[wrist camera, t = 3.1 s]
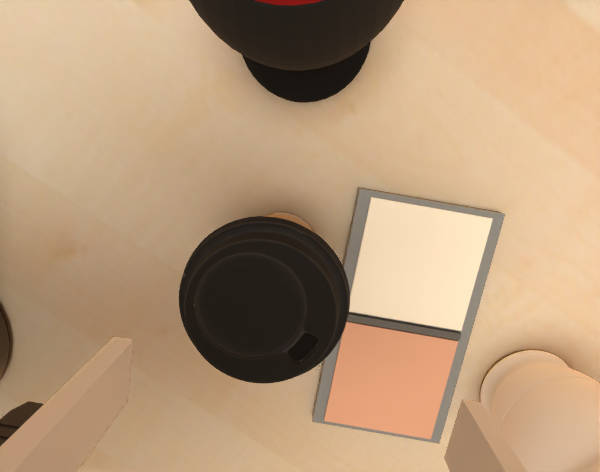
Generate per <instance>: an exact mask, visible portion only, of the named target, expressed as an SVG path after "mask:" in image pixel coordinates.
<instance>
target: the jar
mask: <svg viewBox="0 0 600 472" xmlns="http://www.w3.org/2000/svg"><path fill="white" fill-rule="evenodd" d="M480 397H481V403H482V404H483V406H484V407H485V409H486V410H487V412H488V413H489V415H490V416H491V418H492V419H493V421H494V422H495V424H496V425H497V427H498V428H499V430H500V432H501V433H502V435H503V436H504V438H505V439H506V441H507V442H508V444H509V445H510V447H511V448H512V450H513V451H514V453H515V454H516V456H517V457H518V459H519V460H520V462H521V463H522V465H523V466H524V468H525V469H526V471H527V472H600V383H599V382H597V381H596V380H594V379H592V378H591V377H589V376H587V375H585V374H583V373H581V372H578V371H576V370H573V369H570V368H569V367H568V365H567V364H566V363H565V362H564V361H563V360H561V359H560V358H559V357H557V356H555V355H553V354H551V353H548V352H545V351H539V350H526V351H520V352H517V353H514V354H511V355H509V356H507V357H505V358H503V359H502V360H500V361H499V362H498V363H497V364H495V365H494V366H493V367H492V369H491V370H490V371H489V372H488V374H487V375H486V377H485V379H484V381H483V384H482V387H481V395H480Z"/></svg>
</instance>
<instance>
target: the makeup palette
mask: <svg viewBox="0 0 600 472" xmlns="http://www.w3.org/2000/svg"><path fill="white" fill-rule="evenodd" d="M504 216H505V214H503V213H500V212H495V211H490V210H484V209H478V208H473V207H467V206H461V205H456V204H450V203H444V202H439V201H433V200H427V199H421V198H416V197H410V196H404V195H399V194H393V193H387V192H382V191H376V190H370V189H365V188H359V189H358V194H357V199H356V203H355V208H354V213H353V218H352V223H351V228H350V233H349V238H348V243H347V248H346V253H345V258H344V262H343V268H344V270H345V273H346V276H347V279H348V284H349V290H350V308H349V315H348V318H347V322H346V326H345V329H344V331H343V334H342V336H341V338H340V340H339V342H338V343H337V345H336V346H335V348H334V349H333V351H332V352H331V353H330V354H329V355H328V356H327V357H326V358H325V359H324V361H323V366H322V371H321V375H320V380H319V385H318V390H317V395H316V400H315V405H314V410H313V419H312V422H317V423H323V424H329V425H335V426H341V427H346V428H352V429H358V430H364V431H369V432H375V433H381V434H387V435H393V436H398V437H404V438H410V439H416V440H421V441H427V442H433V443H439V442H440V439H441V435H442V432H443V428H444V425H445V421H446V418H447V415H448V411H449V408H450V404H451V401H452V397H453V394H454V390H455V387H456V383H457V380H458V376H459V373H460V369H461V366H462V362H463V359H464V355H465V352H466V348H467V345H468V342H469V338H470V335H471V331H472V328H473V324H474V321H475V317H476V314H477V310H478V307H479V303H480V300H481V296H482V293H483V289H484V286H485V282H486V279H487V275H488V272H489V269H490V265H491V262H492V258H493V255H494V251H495V248H496V244H497V241H498V237H499V234H500V230H501V227H502V223H503V220H504Z"/></svg>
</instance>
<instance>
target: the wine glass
mask: <svg viewBox="0 0 600 472" xmlns="http://www.w3.org/2000/svg"><path fill="white" fill-rule="evenodd" d="M189 1H190V2H191V4H192V5H193V7H194V8H195V10H196V11H197V13H198V14H199V16H200V17H201V18H202V19H203V20H204V22H205V23H206V24H207V25H208V26H209V27H210V28H211V30H212V31H213V32H214V33H215V34H216V35H217V36H218V37H219V38H220V39H222V40H223V41H224V42H225V43H226V44H228V45H229V46H230V47H231V48H233V49H234V50H236V51H238V52H239V53H241V54H242V55H243V58H244V60H245V62H246V64H247V67H248V68H249V70H250V71H251V73H252V74H253V76H254V77H255V78H256V79H257V81H258V82H259V83H260V84H261V85H262V86H263V87H265V88H266V89H267V90H268V91H270V92H271V93H273V94H275V95H276V96H278V97H281V98H284V99H286V100H290V101H294V102H314V101H319V100H322V99H326V98H328V97H330V96H332V95H335V94H336V93H338V92H339V91H341V90H342V89H344V88H345V87H346V86H347V85H348V84H349V83H350V82H351V81H352V80H353V79H354V78H355V76H356V75H357V74H358V72H359V71H360V69H361V67H362V65H363V64H364V62H365V59H366V57H367V54H368V51H369V47H370V43H371V40H373V39H374V38H375V37H376V36H377V35H378V34H379V33H380V32H381V31H382V30H383V29H384V28H385V27H386V25H387V24H388V23H389V21H390V20H391V19H392V17H393V16H394V15H395V13H396V12H397V11H398V9H399V8H400V6H401V4H402V3H403V1H404V0H189Z"/></svg>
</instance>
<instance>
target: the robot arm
mask: <svg viewBox="0 0 600 472" xmlns="http://www.w3.org/2000/svg"><path fill="white" fill-rule="evenodd" d="M133 342H134V340H132V339H127V338H121V337H116V336H114V337H113V338H112V339H111V340H110V341H109V342H108V343H107V344H106V345H105V346H104V347H103V348H102V349H101V350H100V351H99V352H97V353H96V354H95V355H94V356H93V357H92V358H91V359H90V360H89V361H88V362H87V363H86V364H85V365H84V366H83V367H82V368H81V369H80V370H79V371H78V372H77V373H76V374H75V375H74V376H73V377H72V378H71V379H70V380H69V381H67V382H66V383H65V384H64V385H63V386H62V387H61V388H60V389H59V390H58V391H57V392H56V393H55V394H54V395H53V396H52V397H51V398H50V399H49V400H48V401H47V402H46V403H45V404H40V403H35V402H27V403H25V404H23V405H21V406H19V407H17V408H15V409H13V410H11V411H10V412H8V413H7V414H6V415H5V416H4V417H3V418H2V419H0V472H77V471H78V469H79V468H80V467H81V465H82V464H83V462H84V461H85V460H86V458H87V457H88V455H89V454H90V453H91V451H92V450H93V448H94V447H95V446H96V444H97V443H98V442H99V440H100V439H101V437H102V436H103V435H104V433H105V432H106V430H107V429H108V428H109V426H110V425H111V423H112V422H113V421H114V419H115V418H116V416H117V415H118V414H119V412H120V411H121V410H122V408H123V407H124V405H125V404H126V403H127V401H128V391H129V381H130V371H131V361H132V351H133ZM8 354H9V338H8V331H7V327H6V324H5V321H4V318H3V316H2V313H1V311H0V377H1V376H2V374H3V372H4V369H5V367H6V364H7V360H8ZM444 458H445V461H446V463H447V465H448V468H449V470H450V472H527V471H526V469H525V468H524V466H523V465H522V463H521V462H520V460H519V459H518V457H517V456H516V454H515V453H514V451H513V450H512V448H511V447H510V445H509V444H508V442H507V441H506V439H505V438H504V436H503V435H502V433H501V432H500V430H499V428H498V427H497V425H496V424H495V422H494V421H493V419H492V418H491V416H490V415H489V413H488V412H487V410H486V409H485V407H484V406H483V404H482V403H481V402H476V401H470V400H465V399H462V402H461V405H460V408H459V411H458V415H457V418H456V421H455V424H454V428H453V431H452V434H451V437H450V441H449V444H448V447H447V450H446V454H445V457H444Z"/></svg>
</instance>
